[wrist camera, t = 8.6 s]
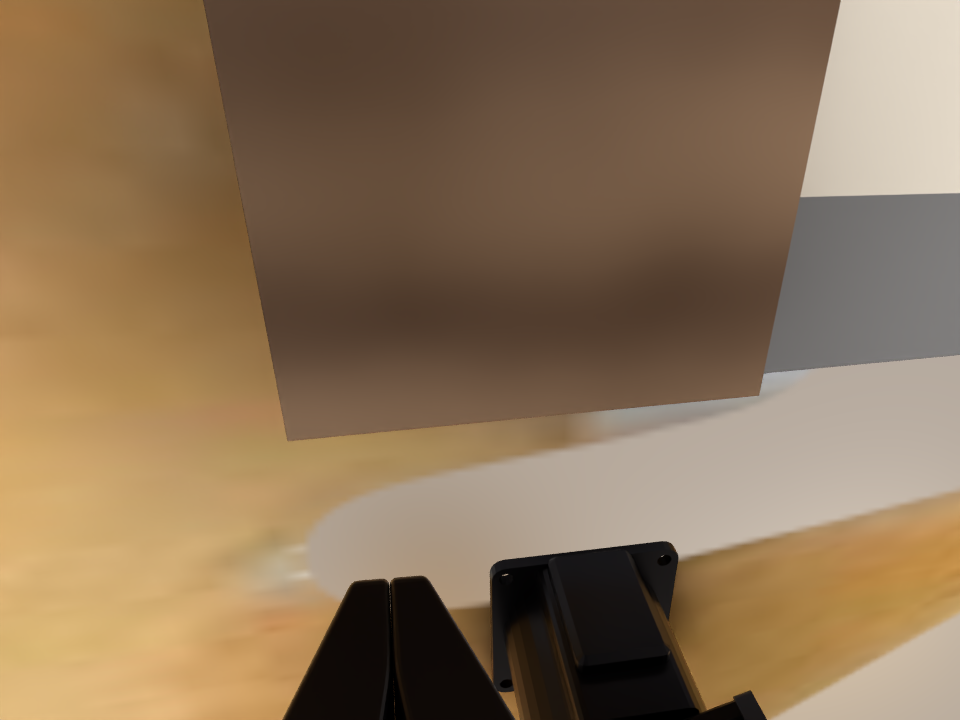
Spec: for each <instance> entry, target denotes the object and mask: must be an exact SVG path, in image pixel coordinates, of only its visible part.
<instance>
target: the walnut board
mask: <svg viewBox="0 0 960 720" xmlns="http://www.w3.org/2000/svg"><path fill="white" fill-rule="evenodd" d="M203 1H204V6H205V11H206V17H207V22H208V27H209V32H210V38H211V43H212V48H213V53H214V59H215V64H216V69H217V74H218V79H219V85H220V90H221V95H222V100H223V106H224V111H225V116H226V121H227V127H228V132H229V137H230V142H231V147H232V153H233V158H234V163H235V168H236V174H237V179H238V184H239V189H240V195H241V200H242V205H243V210H244V215H245V221H246V226H247V231H248V236H249V242H250V247H251V252H252V257H253V263H254V268H255V273H256V278H257V283H258V289H259V294H260V299H261V304H262V310H263V315H264V320H265V325H266V331H267V336H268V341H269V346H270V351H271V357H272V362H273V367H274V372H275V378H276V383H277V388H278V393H279V399H280V404H281V409H282V414H283V419H284V425H285V430H286V435H287V440H288V441H294V440H304V439H314V438H325V437H335V436H345V435H356V434H366V433H376V432H387V431H397V430H407V429H418V428H428V427H438V426H449V425H459V424H469V423H480V422H490V421H500V420H511V419H521V418H532V417H542V416H552V415H563V414H573V413H583V412H594V411H604V410H614V409H625V408H635V407H645V406H656V405H666V404H676V403H687V402H697V401H707V400H718V399H728V398H738V397H749V396H759V393H760V388H761V383H762V379H763V374H764V369H765V364H766V359H767V354H768V350H769V345H770V340H771V335H772V330H773V325H774V321H775V316H776V311H777V306H778V301H779V297H780V292H781V287H782V282H783V277H784V272H785V268H786V263H787V258H788V253H789V248H790V243H791V239H792V234H793V229H794V224H795V219H796V215H797V210H798V205H799V200H800V195H801V190H802V186H803V181H804V176H805V171H806V166H807V161H808V157H809V152H810V147H811V142H812V137H813V133H814V128H815V123H816V118H817V113H818V108H819V104H820V99H821V94H822V89H823V84H824V79H825V75H826V70H827V65H828V60H829V55H830V51H831V46H832V41H833V36H834V31H835V26H836V22H837V17H838V12H839V7H840V2H841V0H203Z"/></svg>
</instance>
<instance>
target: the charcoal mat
mask: <svg viewBox="0 0 960 720" xmlns="http://www.w3.org/2000/svg"><path fill="white" fill-rule="evenodd" d="M954 355H960V193H942V194H903V195H863V196H823V197H800V200H799V205H798V210H797V215H796V219H795V224H794V229H793V234H792V239H791V243H790V248H789V253H788V258H787V263H786V268H785V272H784V277H783V282H782V287H781V292H780V297H779V301H778V306H777V311H776V316H775V321H774V325H773V330H772V335H771V340H770V345H769V350H768V354H767V359H766V364H765V369H764V373H772V372H782V371H793V370H804V369H814V368H824V367H835V366H847V365H857V364H867V363H879V362H889V361H900V360H910V359H921V358H931V357H943V356H954Z"/></svg>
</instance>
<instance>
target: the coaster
mask: <svg viewBox="0 0 960 720" xmlns="http://www.w3.org/2000/svg"><path fill="white" fill-rule="evenodd" d="M942 193H960V0H841V2H840V7H839V12H838V17H837V22H836V26H835V31H834V36H833V41H832V46H831V51H830V55H829V60H828V65H827V70H826V75H825V79H824V84H823V89H822V94H821V99H820V104H819V108H818V113H817V118H816V123H815V128H814V133H813V137H812V142H811V147H810V152H809V157H808V161H807V166H806V171H805V176H804V181H803V186H802V190H801V195H800V197H823V196H863V195H903V194H942Z"/></svg>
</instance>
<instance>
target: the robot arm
mask: <svg viewBox="0 0 960 720" xmlns="http://www.w3.org/2000/svg"><path fill="white" fill-rule="evenodd" d="M663 555H664V556H663ZM661 556H663V557H661ZM677 564H678V554H677V552H676V550H675V548H674V546H673V545H672V544H671V543H669V542H663V541H661V542H653V543H644V544H635V545H627V546H618V547H610V548H601V549H593V550H584V551H576V552H567V553H559V554H550V555H542V556H533V557H525V558H516V559H508V560H502V561H499V562H497V563H495V564H494V565H493V566H492V568H491V570H490V606H491V659H492V680H493V683H492V681H491V679H490V678H489V676H488V674H487V673H486V671H485V670H484V668H483V666H482V665H481V663H480V662H479V660H478V658H477V657H476V655H475V653H474V652H473V650H472V649H471V647H470V645H469V644H468V642H467V641H466V639H465V637H464V636H463V634H462V632H461V631H460V629H459V628H458V626H457V624H456V623H455V621H454V620H453V618H452V616H451V615H450V613H449V611H448V610H447V608H446V607H445V605H444V604H443V602H442V600H441V598H440V597H439V595H438V594H437V592H436V591H435V589H434V587H433V586H432V584H431V582H430V581H429V580H428V579H427V578H426V577H424V576H411V577H399V578H394V579H393V580H391V582H390V589H389V583H388V581H387V580H385V579H373V580H362V581H355V582H353V583H352V584H351V585H350V587H349V588H348V590H347V592H346V594H345V596H344V598H343V600H342V602H341V604H340V606H339V608H338V610H337V612H336V614H335V616H334V618H333V620H332V622H331V624H330V626H329V628H328V630H327V632H326V634H325V636H324V638H323V640H322V642H321V644H320V646H319V648H318V650H317V652H316V654H315V656H314V658H313V660H312V662H311V664H310V666H309V668H308V670H307V672H306V674H305V676H304V678H303V680H302V682H301V684H300V686H299V688H298V690H297V692H296V694H295V696H294V698H293V700H292V702H291V704H290V706H289V708H288V710H287V712H286V714H285V715H284V717H283V719H282V720H515V718H514V717H513V715H512V713H511V712H510V710H509V708H508V707H507V705H506V704H505V702H504V700H503V699H502V697H501V696H500V694H499V692H511V691H514V692H515V697H516V702H517V707H518V712H519V717H520V720H767V719H766V717H765V715H764V714H763V712H762V710H761V708H760V706H759V704H758V703H757V701H756V699H755V697H754V695H753V694H752V692H751V690H750V691H747V692H744V693H742V694H739V695H736V696H734V697H733V698H734V700H733V701H731V702H728V703H725V704H723V705H720V706H717V707H715V708H712V709H709V710H707V709H706V707H705V704H704V702H703V700H702V698H701V695H700V693H699V691H698V688H697V686H696V684H695V682H694V679H693V677H692V675H691V673H690V670H689V668H688V666H687V663H686V661H685V659H684V657H683V654H682V652H681V650H680V648H679V645H678V643H677V641H676V639H675V636H674V634H673V632H672V629H671V627H670V625H669V623H668V619H669V613H670V607H671V601H672V595H673V589H674V583H675V576H676V570H677ZM504 574H508V575H506V576H502V575H504ZM390 604H391V611H390ZM391 631H392V633H391ZM393 680H394V682H393ZM498 691H499V692H498ZM394 702H395V707H394Z"/></svg>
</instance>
